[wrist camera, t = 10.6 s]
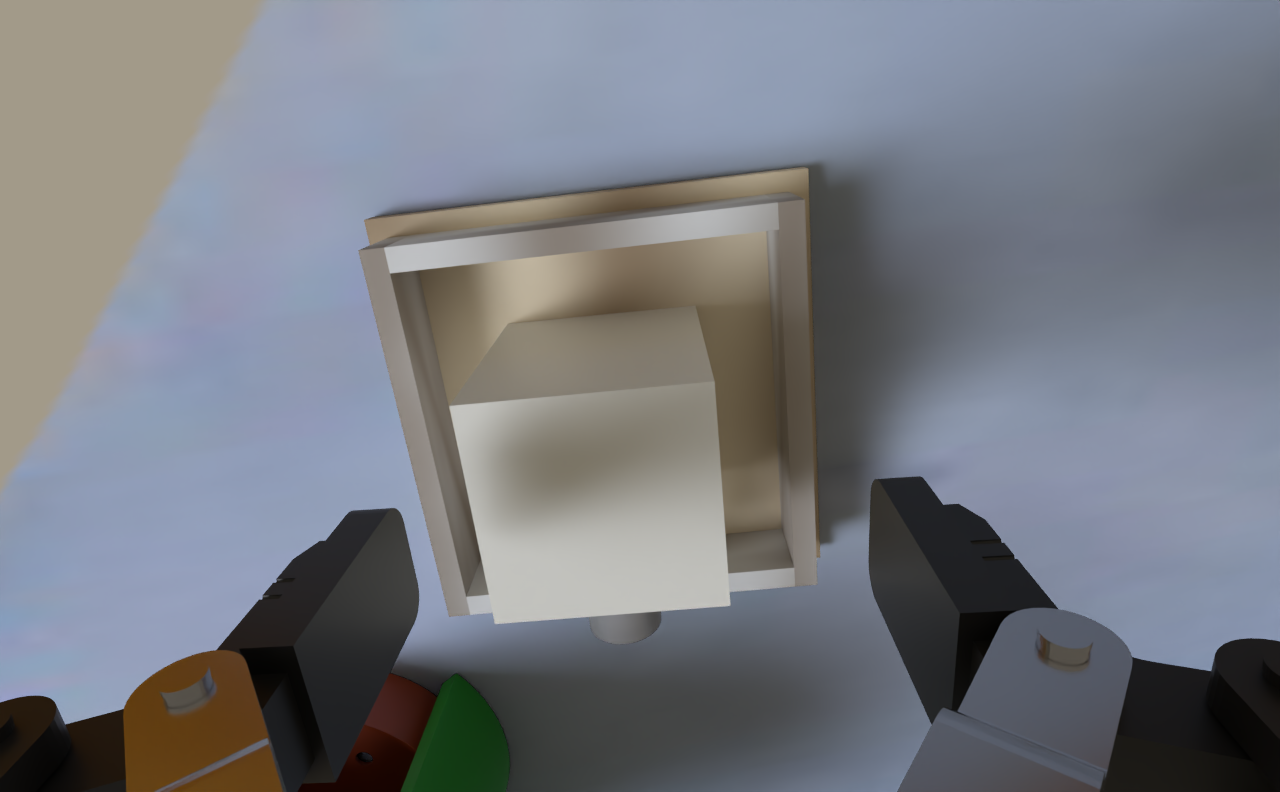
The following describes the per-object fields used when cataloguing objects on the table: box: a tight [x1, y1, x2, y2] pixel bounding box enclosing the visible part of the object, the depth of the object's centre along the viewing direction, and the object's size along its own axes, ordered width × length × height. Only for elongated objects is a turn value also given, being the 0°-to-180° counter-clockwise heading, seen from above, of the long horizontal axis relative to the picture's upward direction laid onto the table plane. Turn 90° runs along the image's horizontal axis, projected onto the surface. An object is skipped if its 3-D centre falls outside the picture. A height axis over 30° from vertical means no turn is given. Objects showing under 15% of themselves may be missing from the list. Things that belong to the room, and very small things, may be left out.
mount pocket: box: [358, 167, 820, 617], centre depth 19 cm, size 11×11×3 cm
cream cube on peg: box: [449, 306, 730, 644], centre depth 18 cm, size 5×7×6 cm
